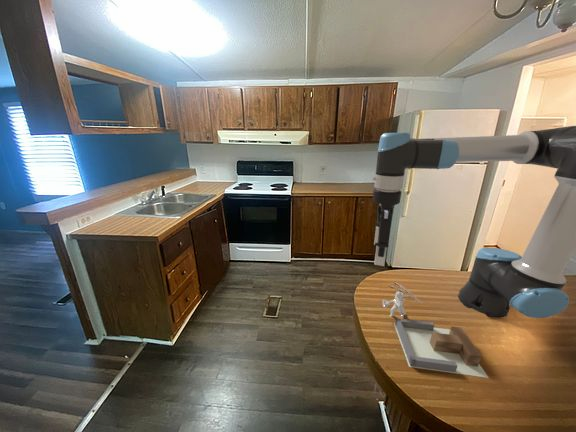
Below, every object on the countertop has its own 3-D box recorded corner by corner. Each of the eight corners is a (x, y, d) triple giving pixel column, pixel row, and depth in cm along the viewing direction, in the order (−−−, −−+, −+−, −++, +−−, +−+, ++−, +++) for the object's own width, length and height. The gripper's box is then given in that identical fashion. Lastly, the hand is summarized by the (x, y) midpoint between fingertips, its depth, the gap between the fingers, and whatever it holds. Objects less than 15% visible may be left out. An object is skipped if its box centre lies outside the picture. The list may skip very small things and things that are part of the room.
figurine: (408, 320, 82) (415, 292, 78) (387, 326, 79) (393, 298, 75) (398, 310, 86) (404, 284, 82) (378, 316, 83) (383, 289, 79)
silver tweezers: (388, 286, 100) (389, 283, 99) (395, 283, 102) (396, 280, 102) (426, 315, 86) (428, 311, 85) (433, 310, 88) (435, 306, 88)
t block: (458, 337, 73) (461, 327, 72) (477, 366, 64) (481, 356, 63) (425, 333, 75) (427, 323, 74) (438, 361, 66) (442, 351, 64)
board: (456, 332, 76) (458, 324, 75) (487, 380, 62) (491, 371, 60) (393, 325, 79) (394, 317, 78) (408, 369, 65) (410, 360, 63)
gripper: (373, 180, 79) (367, 236, 86) (374, 199, 56) (365, 272, 64) (397, 181, 76) (388, 239, 83) (407, 201, 54) (394, 277, 61)
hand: (378, 254), depth 73 cm, fingers open, 13 cm apart
